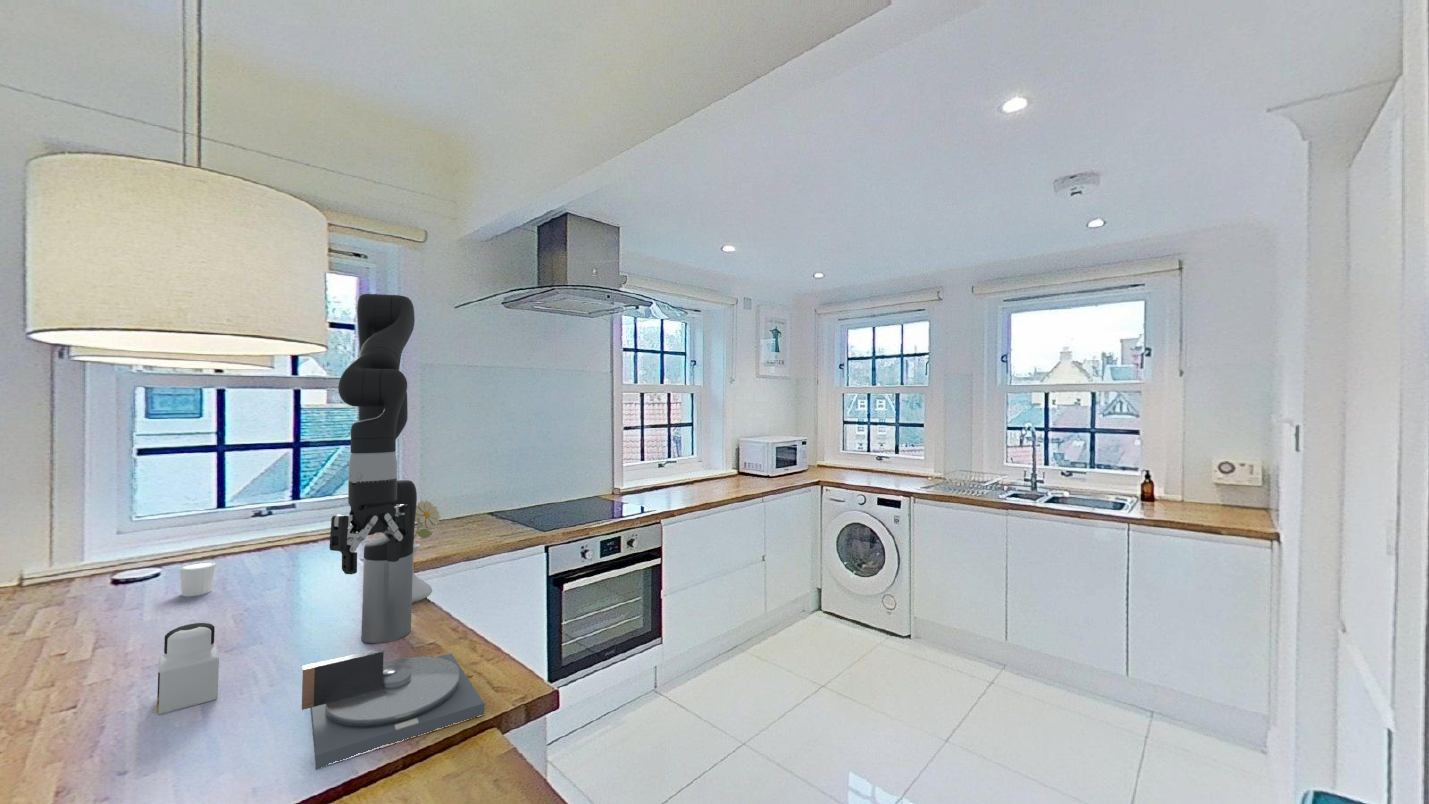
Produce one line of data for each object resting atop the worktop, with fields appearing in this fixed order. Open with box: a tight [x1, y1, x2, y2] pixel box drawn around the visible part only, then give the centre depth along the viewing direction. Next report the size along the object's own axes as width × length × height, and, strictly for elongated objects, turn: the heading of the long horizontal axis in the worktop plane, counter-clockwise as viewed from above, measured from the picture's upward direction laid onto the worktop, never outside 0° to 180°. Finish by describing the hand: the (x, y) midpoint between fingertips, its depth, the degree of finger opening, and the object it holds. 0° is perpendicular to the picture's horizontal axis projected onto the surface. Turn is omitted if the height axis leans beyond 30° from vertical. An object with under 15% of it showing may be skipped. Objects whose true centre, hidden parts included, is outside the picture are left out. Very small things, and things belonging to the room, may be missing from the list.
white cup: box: [179, 561, 217, 597], centre depth 140 cm, size 7×7×7 cm
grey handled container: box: [156, 622, 220, 716], centre depth 91 cm, size 7×7×12 cm
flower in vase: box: [412, 500, 441, 603], centre depth 139 cm, size 13×11×25 cm
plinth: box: [310, 652, 485, 770], centre depth 89 cm, size 22×22×2 cm
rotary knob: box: [301, 648, 459, 726], centre depth 89 cm, size 22×19×8 cm
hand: (372, 567), depth 98 cm, fingers open, 8 cm apart
